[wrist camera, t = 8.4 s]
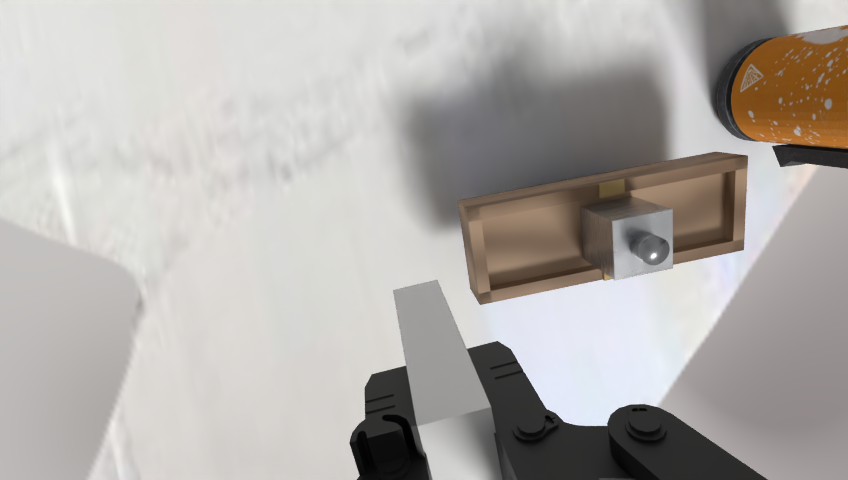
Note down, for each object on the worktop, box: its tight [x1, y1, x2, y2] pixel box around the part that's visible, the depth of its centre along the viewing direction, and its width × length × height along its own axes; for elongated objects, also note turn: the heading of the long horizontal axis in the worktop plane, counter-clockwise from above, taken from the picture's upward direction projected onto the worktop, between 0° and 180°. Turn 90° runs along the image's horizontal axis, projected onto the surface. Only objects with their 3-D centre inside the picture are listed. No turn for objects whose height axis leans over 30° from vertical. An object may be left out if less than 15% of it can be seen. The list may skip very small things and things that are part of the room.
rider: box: [580, 196, 673, 280], centre depth 35 cm, size 4×4×6 cm
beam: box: [458, 152, 748, 305], centre depth 40 cm, size 8×23×8 cm, turn 99°
